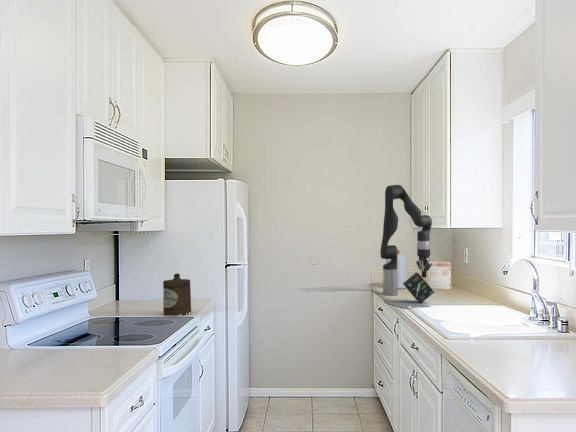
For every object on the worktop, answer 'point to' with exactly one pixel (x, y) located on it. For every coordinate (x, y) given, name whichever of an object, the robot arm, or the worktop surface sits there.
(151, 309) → the worktop surface
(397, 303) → the display mat
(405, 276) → the plastic bottle
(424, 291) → the tampon box
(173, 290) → the wooden container
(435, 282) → the coffeecake box
